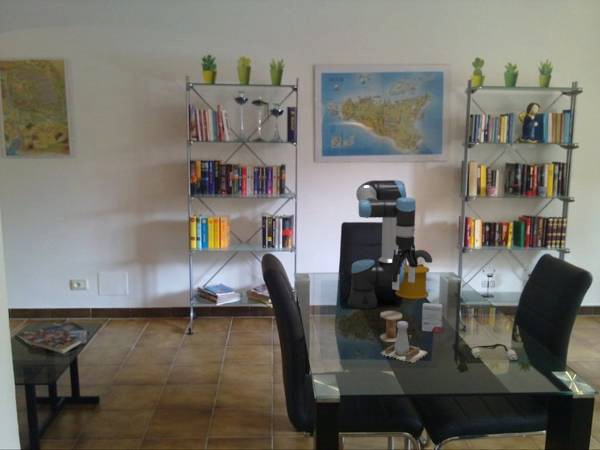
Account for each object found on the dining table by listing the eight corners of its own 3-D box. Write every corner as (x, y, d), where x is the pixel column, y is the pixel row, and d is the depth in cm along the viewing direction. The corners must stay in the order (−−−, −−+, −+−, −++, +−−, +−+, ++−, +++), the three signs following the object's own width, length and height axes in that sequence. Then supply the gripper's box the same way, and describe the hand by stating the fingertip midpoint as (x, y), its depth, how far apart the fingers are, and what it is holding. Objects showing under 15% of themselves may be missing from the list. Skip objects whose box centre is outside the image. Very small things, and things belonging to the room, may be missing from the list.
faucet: (426, 286, 292) (427, 253, 289) (401, 283, 300) (401, 250, 297) (436, 280, 307) (437, 248, 304) (411, 276, 315) (412, 246, 312)
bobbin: (376, 339, 210) (376, 314, 209) (386, 333, 217) (387, 309, 216) (395, 344, 205) (395, 319, 203) (405, 338, 212) (406, 313, 210)
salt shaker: (392, 351, 196) (393, 319, 194) (406, 350, 196) (407, 319, 195) (396, 357, 190) (397, 324, 188) (411, 356, 191) (412, 324, 189)
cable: (465, 344, 206) (466, 336, 205) (507, 346, 203) (507, 338, 203) (473, 360, 190) (473, 351, 190) (518, 362, 188) (518, 353, 188)
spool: (432, 292, 280) (433, 266, 278) (422, 300, 265) (423, 273, 263) (402, 288, 290) (403, 263, 287) (390, 295, 275) (391, 269, 272)
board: (380, 354, 195) (380, 347, 194) (395, 345, 204) (395, 338, 204) (413, 363, 186) (413, 356, 186) (427, 353, 195) (427, 347, 195)
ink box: (442, 329, 222) (443, 303, 221) (441, 332, 218) (442, 307, 216) (422, 327, 225) (423, 302, 223) (421, 330, 220) (422, 305, 219)
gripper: (398, 241, 191) (396, 294, 195) (427, 232, 210) (425, 280, 213) (381, 239, 196) (380, 291, 199) (411, 230, 214) (409, 277, 218)
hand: (403, 285), depth 206 cm, fingers open, 13 cm apart
